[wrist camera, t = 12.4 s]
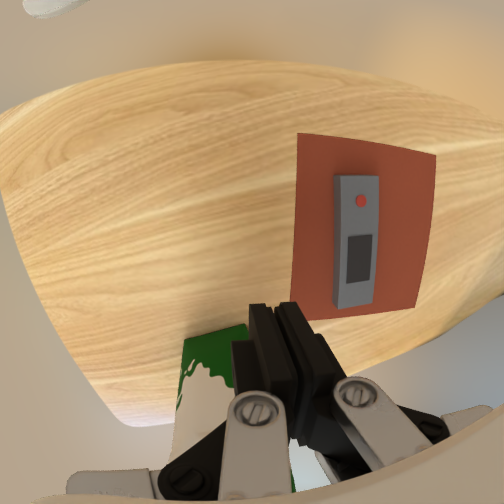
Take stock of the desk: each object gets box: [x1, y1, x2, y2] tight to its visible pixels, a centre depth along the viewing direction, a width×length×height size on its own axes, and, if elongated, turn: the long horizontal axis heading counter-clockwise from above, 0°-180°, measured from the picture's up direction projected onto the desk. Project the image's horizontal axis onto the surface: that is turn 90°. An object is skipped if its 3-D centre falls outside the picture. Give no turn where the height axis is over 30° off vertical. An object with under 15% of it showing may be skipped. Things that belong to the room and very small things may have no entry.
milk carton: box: [168, 324, 296, 493], centre depth 22 cm, size 9×9×20 cm
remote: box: [332, 175, 379, 309], centre depth 28 cm, size 14×4×2 cm, turn 4°
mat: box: [290, 133, 436, 321], centre depth 29 cm, size 20×18×1 cm
